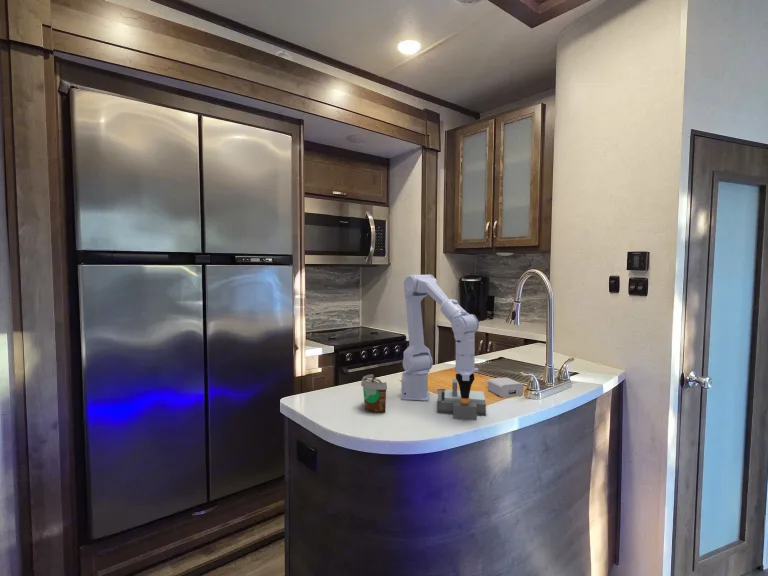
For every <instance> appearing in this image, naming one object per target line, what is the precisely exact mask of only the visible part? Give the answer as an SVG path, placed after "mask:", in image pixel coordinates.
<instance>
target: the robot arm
mask: <svg viewBox="0 0 768 576" xmlns="http://www.w3.org/2000/svg"><path fill="white" fill-rule="evenodd" d="M403 291H404V292H403V294H404V299H405V309H406V320H407V321H406V322H407V332H408V333H407V334H408V335H407V336H408V344H409V345H408V346H407V347H406V349H405V350H404V351H403V358H402V368H403V370H404V371H403V372H402V373H401V383H400V384H401V389H400V393H401V398H400V399H401V400H403V401H404V400H406V401H407V400H408V401H409V400H410V401H422V402H423V401H426V402H427V401H429V399H430V392H429V387H428V386H429V374H428V373H430V371H431V369H432V368H433V363H434V361H433V357H432V355H431V350H430V349H429V347H428V346H426V345H425V337H424V325H423V315H422V304H421V302H422V300H423V299H424V298H426V297H427V296H429V297H431V298H432V299H433V301H435V302H436V303H437V304H438V305H439V306H440V312H441V313H442V314H443V315H444V316H445V317H444V318H446V319H447V320H448V321H449V323H451V331H452V332H453V338H454V340H455V367H454V371H455V372H456V373H455V379H457V385H458V388H459V390H460V394H461V398H466V399H468V398H469V394H470V391H471V388H472V385H473V383H474V381H475V379H476V378H475V374H474V373H475V372H476V373H478V372H479V368H478V367H475V361H476V360H475V354H476V353H475V349H476V348H475V346H476V345H475V341H476V340H475V339H476V338H475V334H476V332H477V331H478V330H479V327H480V326H479V325H480V324H479V320H478V318H477V316H476V315H475V314H472V313H471V314H470V313H469V312H467V310H465V309H464V308H463V307H462V306H461V305H460V304H459V301H458V300H457V299H454V298H453V299H452V298H449V297H448V296H447V295H446V293H444V290H443V289H442V288H441V287H440V286H439V285H438V280H437V278H435V277H434V275H433V274H430V273H429V274H408V275H406V277H405V279H404V280H403Z"/></svg>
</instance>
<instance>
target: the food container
mask: <svg viewBox="0 0 768 576" xmlns="http://www.w3.org/2000/svg"><path fill="white" fill-rule="evenodd" d="M360 386H361V387H362V391H363V402H364V403H363V404H364V410H365V411H366V412H368V413H371V412H372V413H373V414H385V413H386V408H387V406H386V405H387V390H388V384H387V382H382V381H381V380H380V379H378V378H375V377H374V374H367V375H365V376H363V377H362V379H361V383H360Z"/></svg>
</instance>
